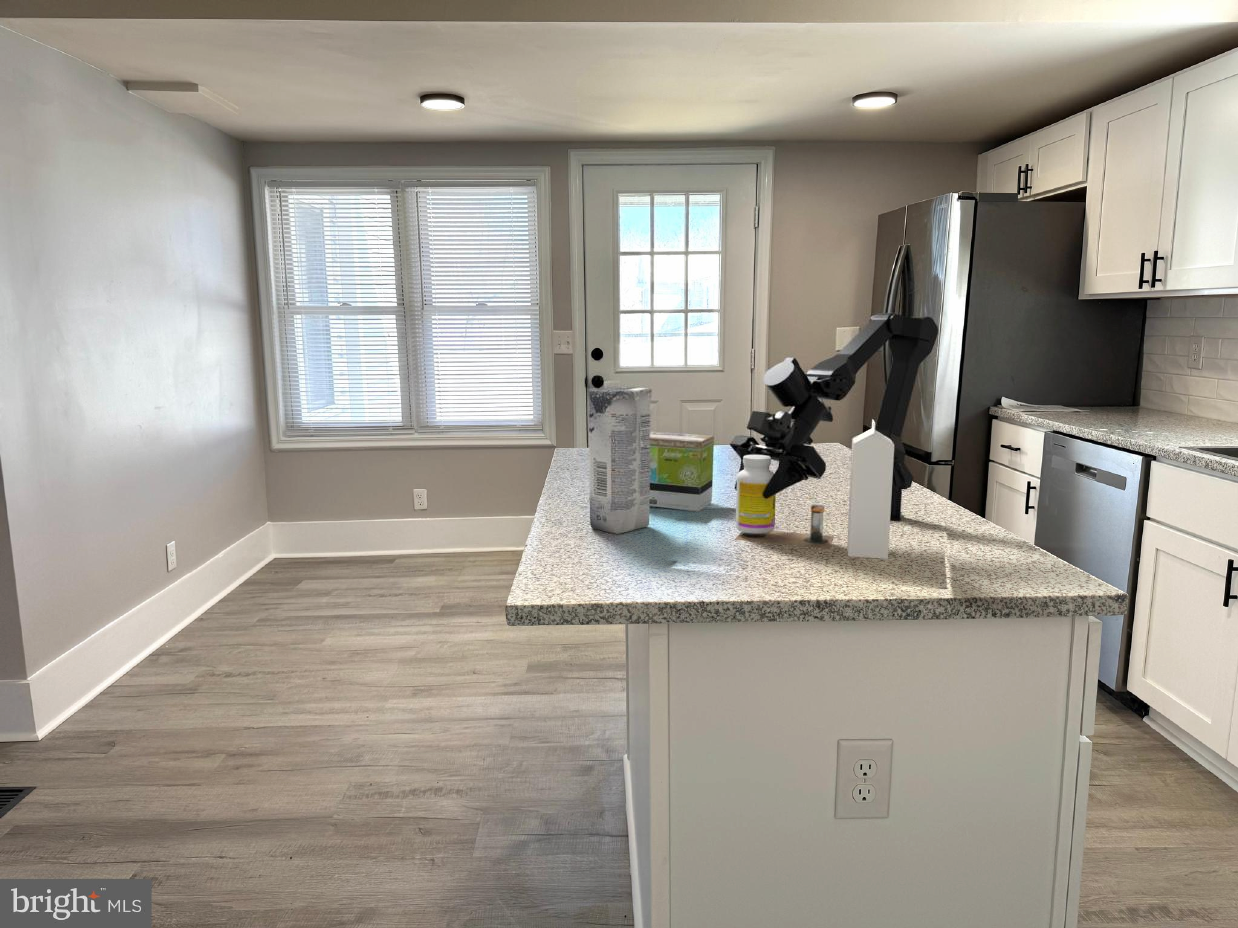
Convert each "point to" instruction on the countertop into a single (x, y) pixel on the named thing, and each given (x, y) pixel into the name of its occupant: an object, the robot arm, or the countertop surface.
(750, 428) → the robot arm
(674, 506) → the tea box
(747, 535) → the plate
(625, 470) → the juice carton
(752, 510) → the supplement bottle
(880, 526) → the milk
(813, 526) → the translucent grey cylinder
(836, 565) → the countertop surface
